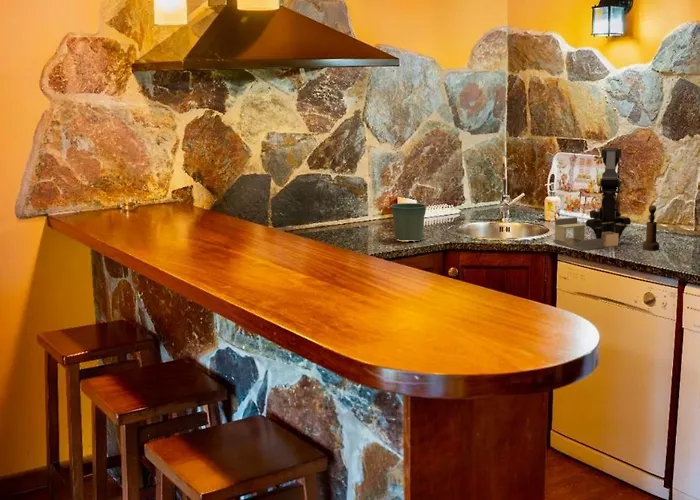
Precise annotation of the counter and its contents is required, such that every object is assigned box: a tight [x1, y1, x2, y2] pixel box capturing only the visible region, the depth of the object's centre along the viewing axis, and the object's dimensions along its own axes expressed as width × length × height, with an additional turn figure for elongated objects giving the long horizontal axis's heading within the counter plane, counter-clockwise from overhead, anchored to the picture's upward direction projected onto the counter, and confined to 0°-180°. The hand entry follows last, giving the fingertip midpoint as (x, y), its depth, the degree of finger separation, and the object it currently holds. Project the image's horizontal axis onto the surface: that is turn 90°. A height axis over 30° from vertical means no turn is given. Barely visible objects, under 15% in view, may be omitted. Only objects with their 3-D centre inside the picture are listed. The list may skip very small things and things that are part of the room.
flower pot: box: [390, 202, 428, 240], centre depth 368 cm, size 16×16×16 cm
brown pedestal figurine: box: [642, 205, 660, 251], centre depth 334 cm, size 7×6×18 cm
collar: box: [601, 232, 619, 248], centre depth 347 cm, size 6×6×5 cm
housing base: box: [553, 236, 604, 251], centre depth 348 cm, size 11×20×4 cm, turn 19°
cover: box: [554, 217, 586, 242], centre depth 353 cm, size 10×7×9 cm
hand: (607, 242), depth 347 cm, fingers open, 8 cm apart
